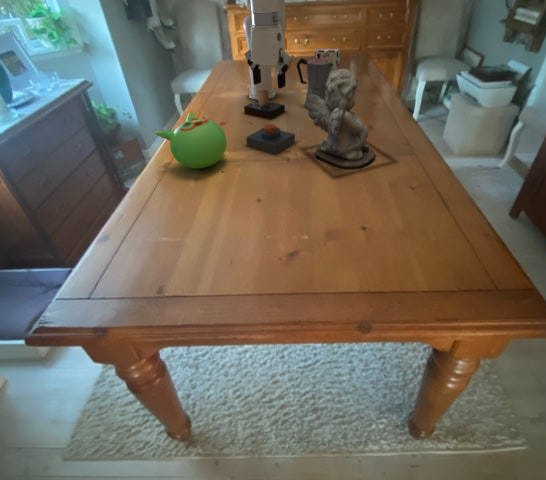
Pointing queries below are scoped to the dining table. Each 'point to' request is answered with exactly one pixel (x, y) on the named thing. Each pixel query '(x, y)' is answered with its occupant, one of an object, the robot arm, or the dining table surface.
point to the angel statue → (340, 123)
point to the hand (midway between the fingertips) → (269, 85)
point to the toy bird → (196, 142)
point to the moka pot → (315, 75)
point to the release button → (269, 128)
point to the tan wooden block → (263, 98)
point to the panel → (264, 110)
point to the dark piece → (270, 140)
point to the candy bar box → (330, 57)
